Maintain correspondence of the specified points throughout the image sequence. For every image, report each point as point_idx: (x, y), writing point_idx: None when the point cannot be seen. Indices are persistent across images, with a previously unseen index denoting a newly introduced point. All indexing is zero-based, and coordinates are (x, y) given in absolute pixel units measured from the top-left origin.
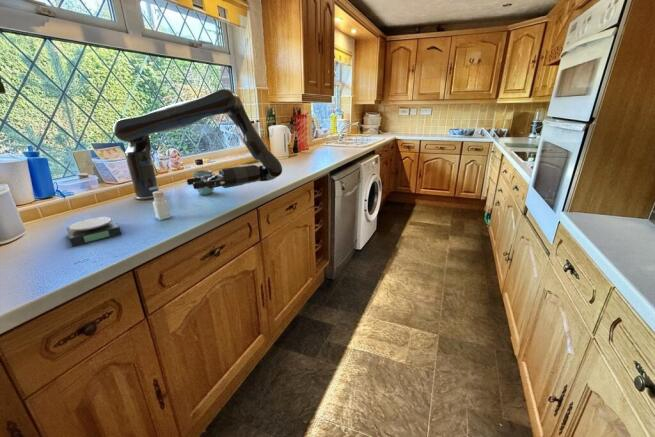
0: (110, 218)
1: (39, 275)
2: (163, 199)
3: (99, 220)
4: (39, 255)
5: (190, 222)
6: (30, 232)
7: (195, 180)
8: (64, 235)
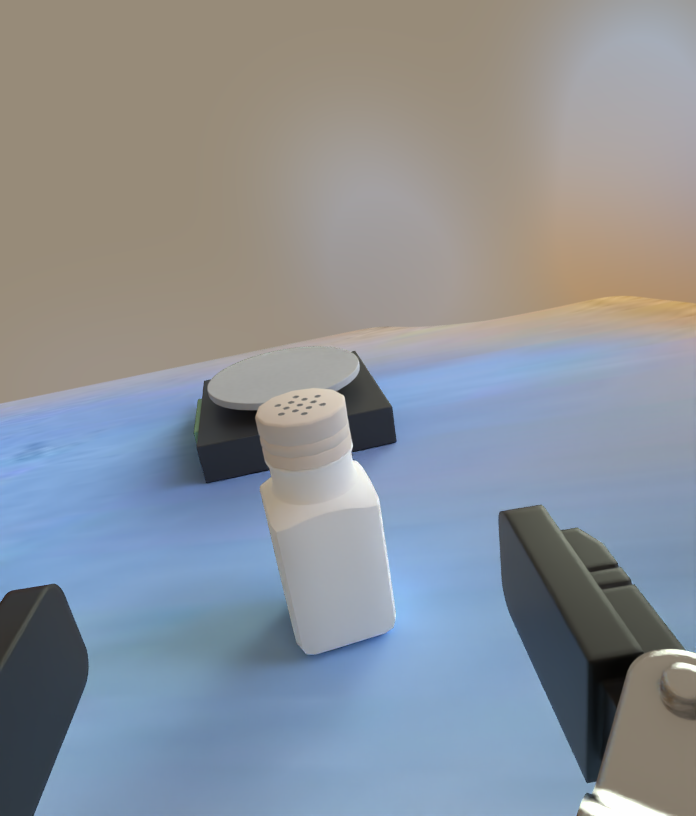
0: None
1: (43, 414)
2: (283, 490)
3: (294, 380)
4: None
5: None
6: (475, 323)
7: (560, 663)
8: None
